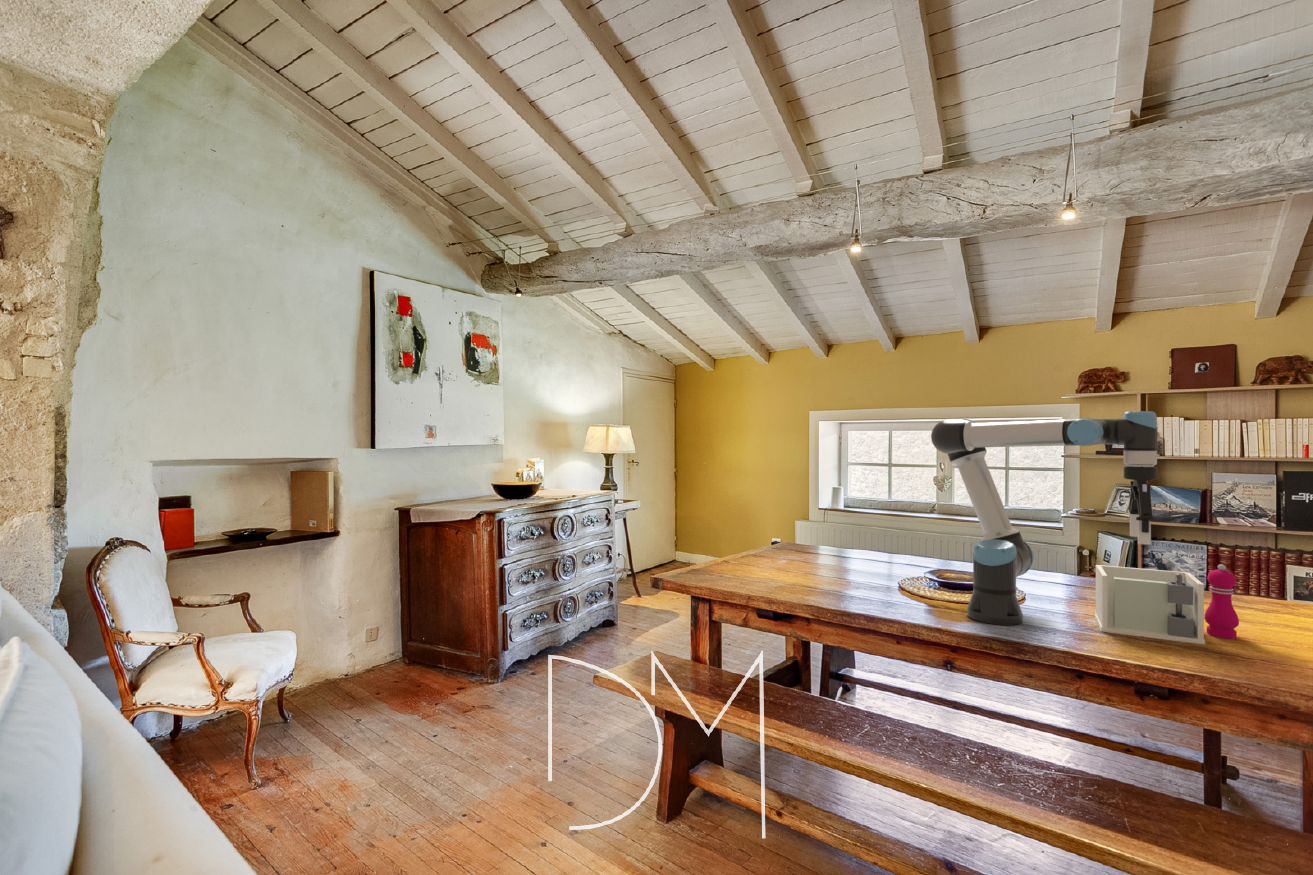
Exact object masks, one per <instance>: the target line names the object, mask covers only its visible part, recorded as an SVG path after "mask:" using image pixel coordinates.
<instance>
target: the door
mask: <svg viewBox="0 0 1313 875" xmlns="http://www.w3.org/2000/svg"><path fill="white" fill-rule="evenodd" d="M1168 602H1169V603H1176V604H1185V605H1193V586H1192V585H1190V584H1189V583H1185V582H1182V585H1176V582H1174V581H1165V582H1163V581H1152V580H1140V579H1129V578H1118V577H1113V625H1114V627H1116V628H1125V629H1133V630H1141V631H1149V632H1157V633H1166V634H1168V635H1171V636H1179V637H1187V638H1193V619H1192V618H1191V617H1190V616H1189V615H1185V614H1182V618H1179V617H1176V614H1175V613H1168Z"/></svg>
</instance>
